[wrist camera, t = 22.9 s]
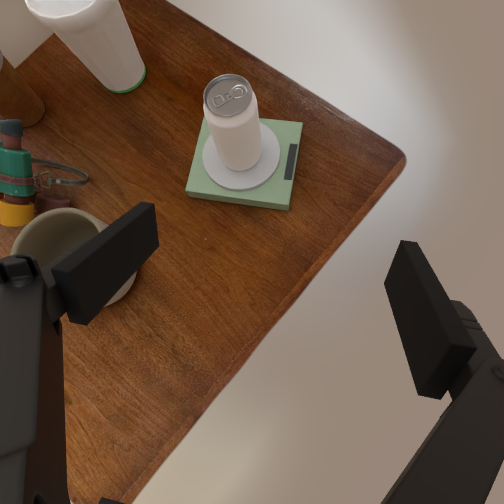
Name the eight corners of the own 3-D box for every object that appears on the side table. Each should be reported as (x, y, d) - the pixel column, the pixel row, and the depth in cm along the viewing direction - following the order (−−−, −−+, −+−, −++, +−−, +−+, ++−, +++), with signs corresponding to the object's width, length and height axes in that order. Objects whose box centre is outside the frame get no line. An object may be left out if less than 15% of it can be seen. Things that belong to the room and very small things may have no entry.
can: (268, 161, 44) (265, 104, 32) (229, 179, 44) (212, 128, 32) (251, 128, 46) (242, 62, 34) (213, 145, 46) (191, 84, 34)
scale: (301, 132, 48) (303, 119, 45) (288, 211, 45) (288, 203, 42) (208, 122, 50) (203, 108, 47) (189, 197, 47) (183, 188, 44)
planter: (97, 220, 48) (46, 192, 37) (161, 252, 46) (125, 232, 35) (55, 289, 46) (-13, 279, 35) (119, 326, 43) (68, 328, 33)
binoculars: (37, 194, 54) (-67, 205, 40) (37, 113, 49) (-81, 94, 35) (101, 217, 51) (16, 237, 38) (108, 135, 47) (13, 123, 33)
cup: (148, 38, 56) (101, -64, 41) (163, 90, 53) (118, -1, 38) (86, 59, 56) (17, -36, 41) (98, 112, 53) (27, 30, 38)
